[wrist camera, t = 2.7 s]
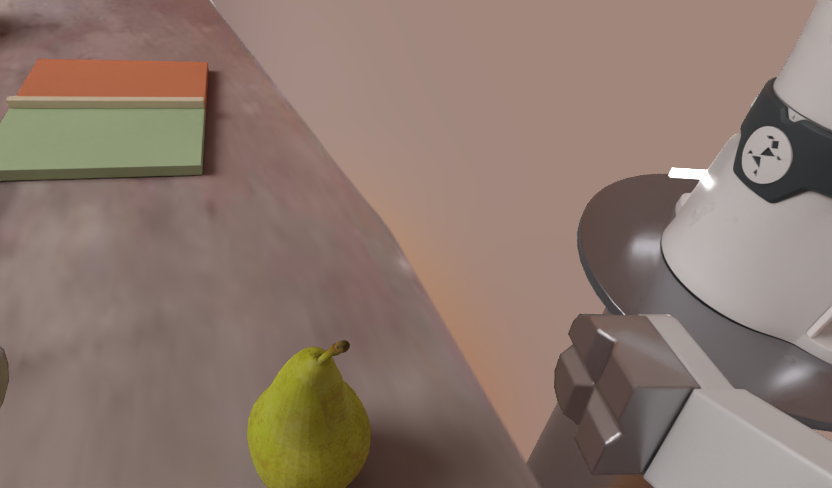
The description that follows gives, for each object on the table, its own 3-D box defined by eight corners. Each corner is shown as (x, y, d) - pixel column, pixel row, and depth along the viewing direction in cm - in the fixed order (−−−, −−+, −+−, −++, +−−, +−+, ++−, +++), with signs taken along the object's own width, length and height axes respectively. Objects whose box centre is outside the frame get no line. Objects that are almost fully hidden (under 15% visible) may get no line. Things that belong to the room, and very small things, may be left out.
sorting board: (208, 70, 61) (206, 54, 60) (202, 175, 46) (199, 156, 45) (40, 68, 57) (35, 50, 55) (-23, 181, 42) (-32, 161, 41)
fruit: (274, 409, 31) (263, 248, 23) (377, 432, 31) (400, 276, 23) (231, 513, 27) (199, 355, 19) (350, 540, 26) (368, 392, 19)
